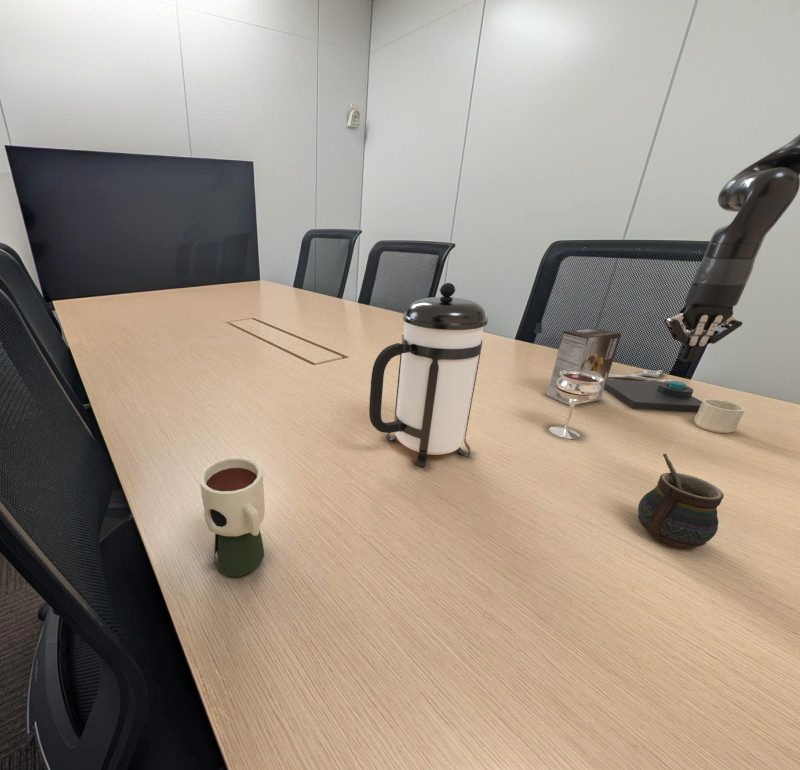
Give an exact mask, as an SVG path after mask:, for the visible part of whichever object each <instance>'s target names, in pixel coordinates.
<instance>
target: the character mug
mask: <svg viewBox="0 0 800 770" xmlns="http://www.w3.org/2000/svg"><path fill="white" fill-rule="evenodd" d="M263 474H264V473H263V469H262V467H261V465H260V464H259V463H258V462H256V460H253V459H251V458H248V457H244V456H243V457H242V456H232V457H231V456H228V457H225V458H220V459H217V460H216V461H214V462H211V463H210V464H208V465H207V466H206V467H205V468H204V469H203V470H202V472H201V474H200V476H199V484H200V494H201V499H202V504H203V506H202V507H203V510H204V511H203V512H204V513H203V514H204V515H203V516H204V521H205V524H206V526H207V528H208V530H209V531H210V532H211V533H213V534H214V549H213V552H214V554H213V555H214V556H213V557H214V558H213V564H214V565H218V566H217V567H218V571H219V573H221V574H224V575H225V576H228V577H238V578H239V577H242V576H244V575H247V574H249V573H251V572H253V571H254V570H255V569H256V568H258V567H259V566H260V565H261V563H262V562H263V559H264V558H265V547H264V543H263V538H262V533H261V529H260V525H261V523H263V520H264V519H265V511H266V510H265V509H266V506H265V489H264V475H263ZM216 554H217V564H216Z"/></svg>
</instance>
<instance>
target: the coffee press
mask: <svg viewBox="0 0 800 770" xmlns="http://www.w3.org/2000/svg"><path fill="white" fill-rule="evenodd" d="M456 291H457V290H456V287H455V285H454V284H453V283H451V282H445V283H443V284H442V285H441V287H440V288H439V292H440V295H441V296H433V297H431V296H430V297H425V298H420V299H418V300H415V301H413V302H412V303H411V304H409V306H408V307H407V309H406V311H405V312H404V313H402V320H403V323H404V325H403V327H404V328H403V334H402V335H401V342H400V343H399V342H395V343H393V344H390V345H388V346H386V347H385V348H383V349H382V350H381V351H380V352H379V354H378V355H377V357H376V358H375V360H374V362H373V365H372V371H371V376H370V377H371V378H370V387H369V388H370V391H369V405H368V406H369V407H368V413H369V414H368V415H369V416H368V417H369V421H370V423H371V425H372V426H373V427H374V429H376V430H377V431H378V432H380V433H382V434H383V433H384V434H386V436H385V437H386V439H387V441H390V442H392V441H394V440H396V439H397V440H398V442H399V443H401V444H402V445H403V446H404V447H406V448H408V449H410V450H412V451H414V452H417V453H418V455H417V459H416V460H417V461H416V466H419V467H424V468H425V467H426V464H427V459H428V455H433V456H439V455H441V456H442V455H447V454H451V453H454V452H456V451H458V453H460V455H461V456H463V457H469V456H470V455H471V446H470V444H469V443H468V441H467V440H466V437H467V432H468V426H469V420H470V414H471V410H472V409H471V408H472V403H473V398H474V392H475V386H476V381H477V375H478V369H479V364H480V359H481V353H482V348H483V342H484V341H483V339H482V338H483V332H484V328H485V327H486V326H487V325H488V321H489V317H487V315H486V313H485V309H484V308H483V306H481V304H479V303H477V302H475V301H473V300H470V299H466V298H461V297H452V296H453V295H454V294H455V292H456ZM398 356H399V365H398V376H397V377H398V378H397V386H396V388H397V389H396V396H395V397H396V399H395V406H394V407H395V408H394V416H393V417H394V418H393V419H394V420H393V421H389V422H384V421H383V419H382V402H383V401H382V400H383V390H384V378H385V370H386V367H387V366H388V364H389V362H390V361H391V360H392V359H393V358H394V357H398ZM392 433H394V434H395V435H394V436H390V434H392ZM463 444H464V445H465V448H466V449H467V451H464V450H463V449H462V448H461V446H462V445H463Z"/></svg>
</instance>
